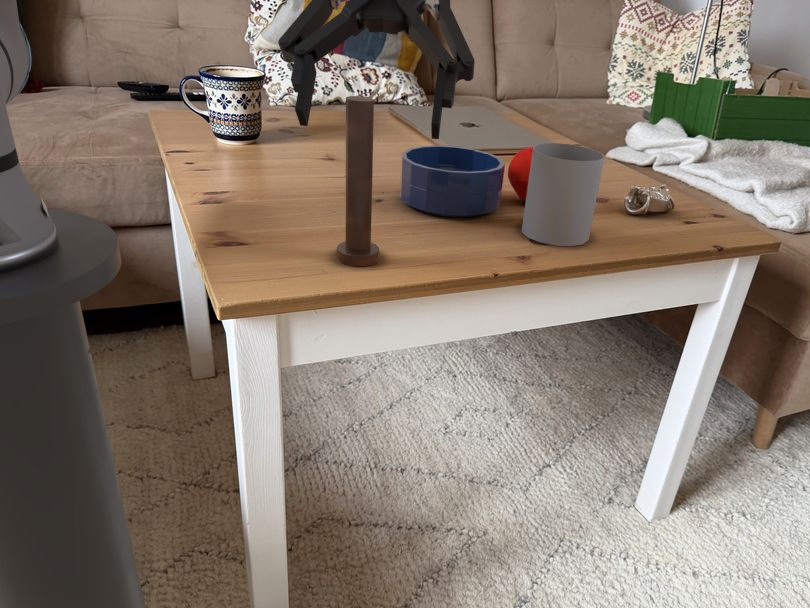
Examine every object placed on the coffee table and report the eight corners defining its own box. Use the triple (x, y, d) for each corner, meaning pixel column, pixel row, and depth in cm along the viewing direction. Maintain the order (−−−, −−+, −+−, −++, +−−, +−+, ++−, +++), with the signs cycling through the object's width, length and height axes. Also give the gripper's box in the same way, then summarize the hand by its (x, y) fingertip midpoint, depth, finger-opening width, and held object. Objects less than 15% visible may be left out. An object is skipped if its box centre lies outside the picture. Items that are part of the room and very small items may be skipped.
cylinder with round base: (336, 265, 68) (335, 101, 60) (337, 249, 72) (336, 92, 64) (379, 267, 69) (384, 104, 61) (378, 251, 73) (383, 96, 65)
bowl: (402, 217, 83) (404, 169, 80) (397, 186, 94) (399, 142, 91) (507, 222, 85) (513, 175, 82) (489, 191, 96) (494, 148, 93)
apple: (500, 190, 97) (506, 138, 93) (553, 193, 98) (561, 142, 94) (508, 208, 90) (515, 152, 86) (565, 211, 91) (575, 156, 87)
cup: (548, 249, 78) (562, 163, 73) (508, 226, 84) (518, 144, 79) (602, 241, 82) (619, 159, 77) (560, 219, 88) (573, 141, 83)
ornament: (647, 200, 99) (653, 176, 97) (682, 215, 94) (689, 190, 93) (607, 205, 95) (612, 180, 94) (641, 221, 90) (647, 194, 89)
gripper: (502, -6, 77) (487, 156, 72) (286, -28, 77) (255, 133, 71) (509, -62, 70) (493, 114, 65) (270, -87, 70) (234, 88, 64)
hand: (368, 125), depth 68 cm, fingers open, 13 cm apart
